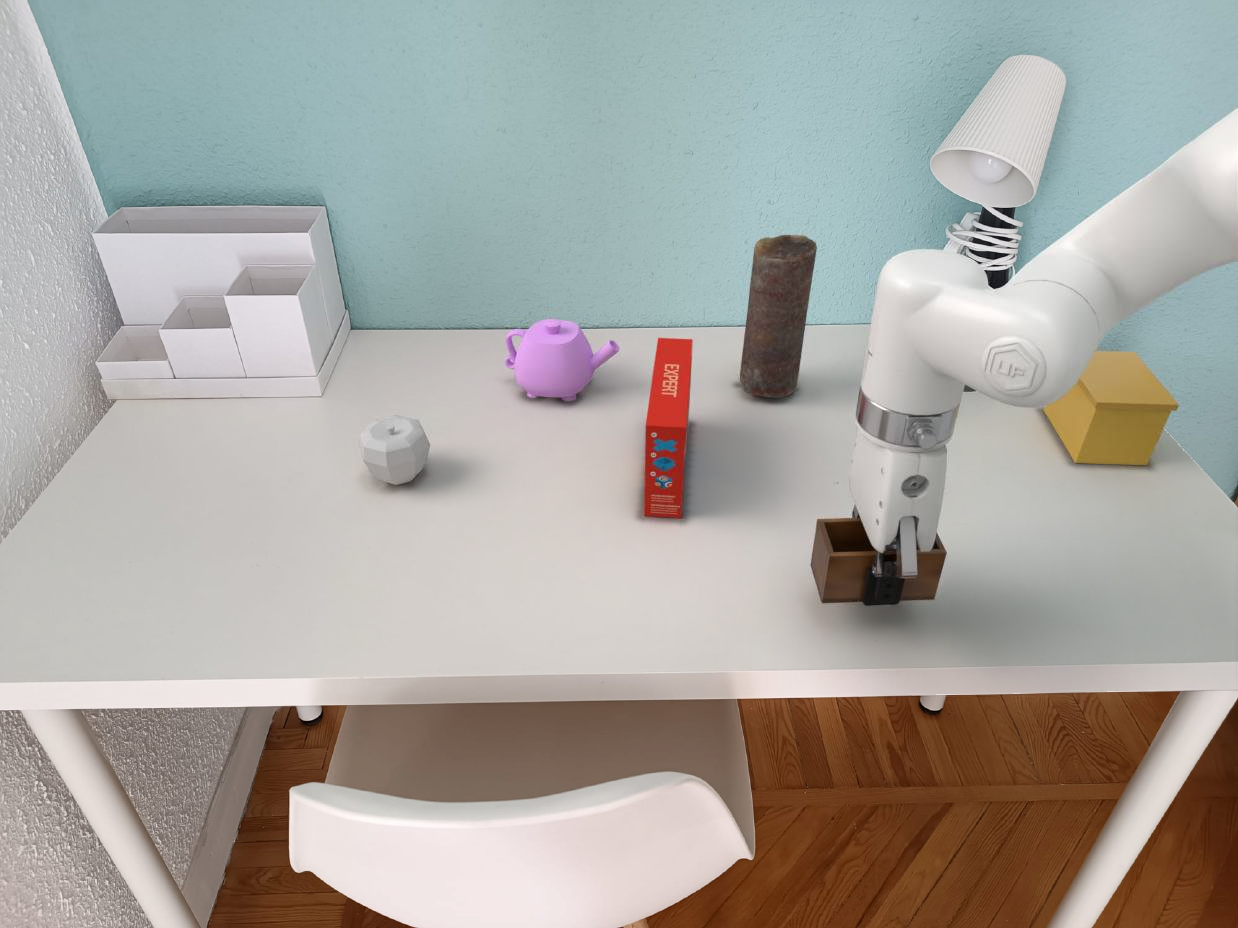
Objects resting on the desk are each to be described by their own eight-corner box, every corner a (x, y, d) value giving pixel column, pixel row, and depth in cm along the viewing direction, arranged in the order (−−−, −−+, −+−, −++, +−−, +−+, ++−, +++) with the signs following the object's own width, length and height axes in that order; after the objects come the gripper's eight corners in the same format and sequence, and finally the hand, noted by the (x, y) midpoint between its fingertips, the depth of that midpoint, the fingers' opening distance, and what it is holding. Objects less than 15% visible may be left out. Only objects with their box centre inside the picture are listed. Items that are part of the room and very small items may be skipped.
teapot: (518, 362, 118) (512, 299, 113) (626, 372, 116) (626, 308, 110) (495, 402, 110) (488, 337, 105) (611, 414, 108) (610, 348, 102)
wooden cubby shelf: (917, 561, 81) (928, 515, 78) (934, 599, 77) (947, 552, 74) (810, 565, 81) (817, 518, 78) (821, 603, 77) (829, 556, 74)
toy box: (655, 421, 106) (657, 337, 100) (688, 423, 106) (692, 339, 99) (644, 516, 92) (645, 425, 85) (681, 518, 92) (686, 427, 85)
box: (1151, 467, 99) (1179, 404, 94) (1073, 464, 99) (1097, 402, 94) (1111, 411, 108) (1134, 351, 103) (1040, 409, 108) (1060, 349, 103)
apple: (372, 454, 101) (361, 407, 97) (440, 453, 101) (432, 406, 97) (357, 497, 95) (345, 448, 91) (429, 496, 95) (421, 447, 91)
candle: (800, 406, 109) (822, 255, 97) (741, 406, 109) (756, 255, 97) (791, 375, 115) (811, 229, 103) (736, 375, 115) (749, 229, 103)
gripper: (994, 473, 61) (943, 650, 72) (920, 356, 75) (886, 518, 86) (888, 476, 61) (852, 653, 72) (833, 358, 75) (810, 521, 86)
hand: (871, 578), depth 79 cm, fingers closed on wooden cubby shelf, 5 cm apart
